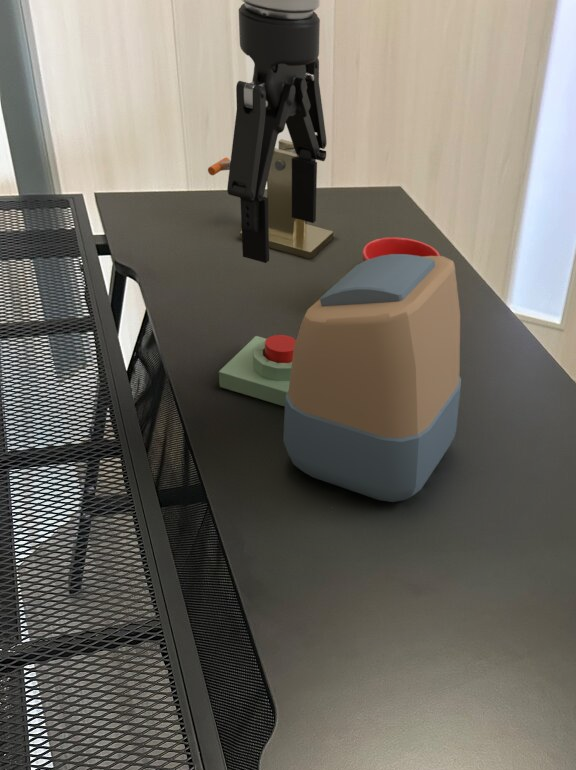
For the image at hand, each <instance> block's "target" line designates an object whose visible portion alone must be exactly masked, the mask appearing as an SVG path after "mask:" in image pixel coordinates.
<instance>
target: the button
mask: <svg viewBox="0 0 576 770" xmlns="http://www.w3.org/2000/svg"><path fill="white" fill-rule="evenodd" d="M265 339H266V341H265V356H266V358H267V359H268V360H270V361H273V362H276V363H290V362H292V359H293V351H294V345H295V342H296V339H295V338H294V337H292V336H289V335H285V334H274V335H271V336H268V337H267V338H265Z"/></svg>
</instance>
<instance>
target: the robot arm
mask: <svg viewBox="0 0 576 770" xmlns="http://www.w3.org/2000/svg"><path fill="white" fill-rule="evenodd" d="M241 2H243V3H242V4H241V5H240V7H239V8H238V31H239V47H240V49H241V51H242V52H243V54H245V55H246V56H248V57H249V58H250V59H251V60H252V61H253V64H254V65H253V75H252V80H251V82H248V81H247V82H246V81H243V80H238V81H237V83H236V88H235V93H236V95H235V96H236V97H235V98H236V112H235V119H234V120H235V121H234V129H233V137H232V147H231V154H230V161H231V162H230V170H228V171H229V172H228V180H227V187H226V191H227V194H228V195H229V196H233V197H235V198H239V199H240V218H241V219H240V221H241V222H240V223H241V231H242V240H241V245H242V248H241V249H242V258H246V259H250V260H254V261H257V262H260V263H264V264H267V263H268V262H269V261H270V248H269V218H268V198H267V196H265V191H266V188H267V179H268V175H269V170H270V166H271V162H272V158H273V153H274V149H275V148H276V145H277V141H278V137H279V134H281V133H283V132H284V130H285V128H287V131H288V134H289V136H290V140H291V142H292V143H293V145H294V148H295V151H296V154H297V155H300V158H299V157H295V156H294V157H293V158H292V218H296V219H300V220H303V221H307V223H311V224H314V223H315V222H316V221H317V188H318V187H317V184H318V183H317V182H318V180H317V179H318V162H317V161H319V162H325V161H326V158H327V151H326V150H325V149H326V147H327V141H328V140H327V134H326V133H327V132H326V126H325V118H324V111H323V101H322V96H321V88H320V59H319V55H320V34H321V33H320V31H321V30H320V28H321V27H320V26H321V25H320V24H321V19H320V17H319V15H318V14H317V13H316V12H315V11H317V9H318V8H320V4H321V0H241Z"/></svg>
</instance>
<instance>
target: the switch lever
mask: <svg viewBox="0 0 576 770" xmlns="http://www.w3.org/2000/svg"><path fill="white" fill-rule="evenodd" d="M284 151H288V152H291V153H295V154H296V151H295V149H287V150H284ZM297 157H299V156H298V155H297ZM230 162H231V159H230V158H228V157H224V158H222V159H220V160H219V161H217V162H216V163H214V164H212V165H210V166H209V167H208V168H207V172H208V174H209V175H210V176H215V175H216V174H218V173H219V172H221V171H229V170H230Z"/></svg>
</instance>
